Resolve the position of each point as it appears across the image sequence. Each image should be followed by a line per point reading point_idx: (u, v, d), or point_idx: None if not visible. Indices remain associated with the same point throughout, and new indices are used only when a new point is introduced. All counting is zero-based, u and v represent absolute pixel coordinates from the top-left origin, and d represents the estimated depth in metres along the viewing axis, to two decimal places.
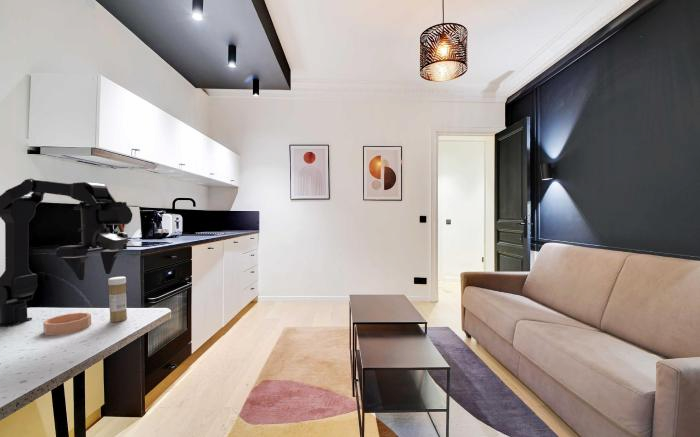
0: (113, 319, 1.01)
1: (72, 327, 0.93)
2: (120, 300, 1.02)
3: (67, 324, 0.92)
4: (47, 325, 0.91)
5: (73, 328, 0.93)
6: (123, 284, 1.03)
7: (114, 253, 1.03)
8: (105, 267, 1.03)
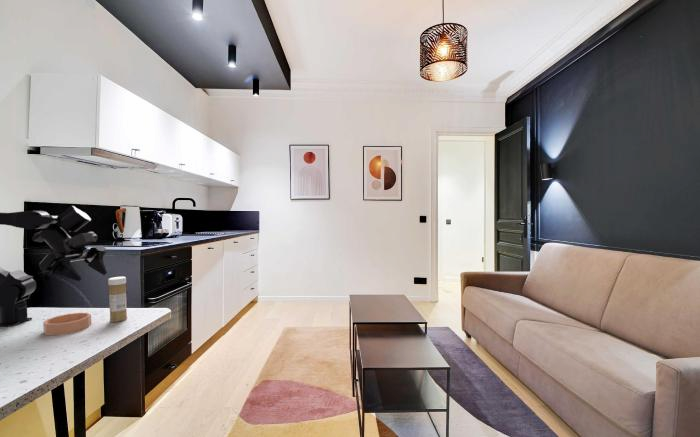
0: (113, 319, 1.01)
1: (72, 327, 0.93)
2: (120, 300, 1.02)
3: (67, 324, 0.92)
4: (47, 325, 0.91)
5: (73, 328, 0.93)
6: (123, 284, 1.03)
7: (97, 255, 1.09)
8: (99, 271, 1.09)
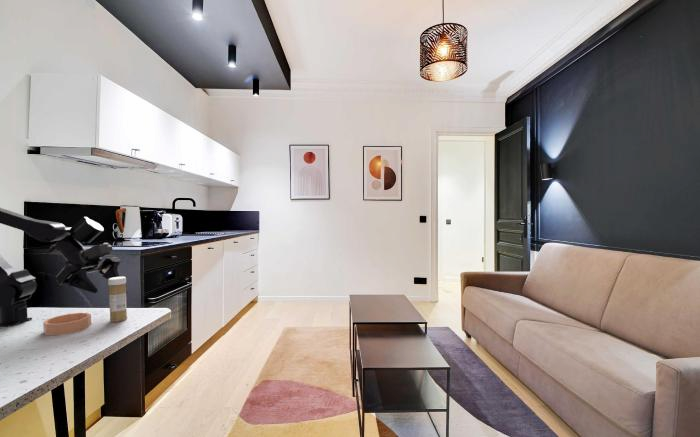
0: (113, 319, 1.01)
1: (72, 327, 0.93)
2: (120, 300, 1.02)
3: (67, 324, 0.92)
4: (47, 325, 0.91)
5: (73, 328, 0.93)
6: (123, 284, 1.03)
7: (112, 266, 1.09)
8: None
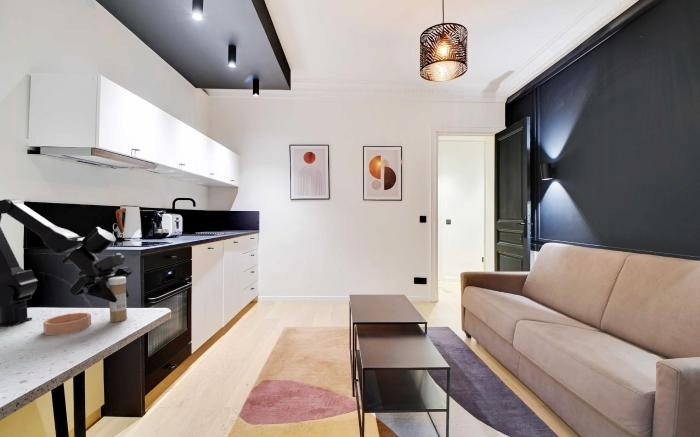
0: (113, 319, 1.01)
1: (72, 327, 0.93)
2: (120, 300, 1.02)
3: (67, 324, 0.92)
4: (47, 325, 0.91)
5: (73, 328, 0.93)
6: (123, 284, 1.03)
7: None
8: None
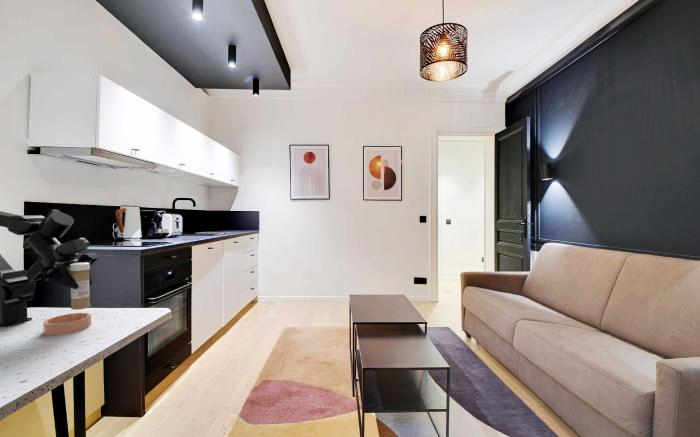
0: (74, 307, 0.96)
1: (72, 327, 0.93)
2: (83, 287, 0.97)
3: (67, 324, 0.92)
4: (47, 325, 0.91)
5: (73, 328, 0.93)
6: (86, 270, 0.98)
7: None
8: None
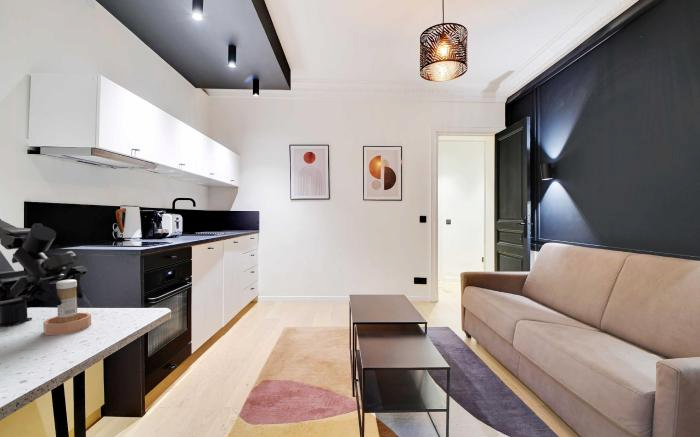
0: None
1: (72, 327, 0.93)
2: (69, 305, 0.95)
3: (67, 324, 0.92)
4: (47, 325, 0.91)
5: (73, 328, 0.93)
6: (73, 288, 0.96)
7: (73, 277, 1.00)
8: None
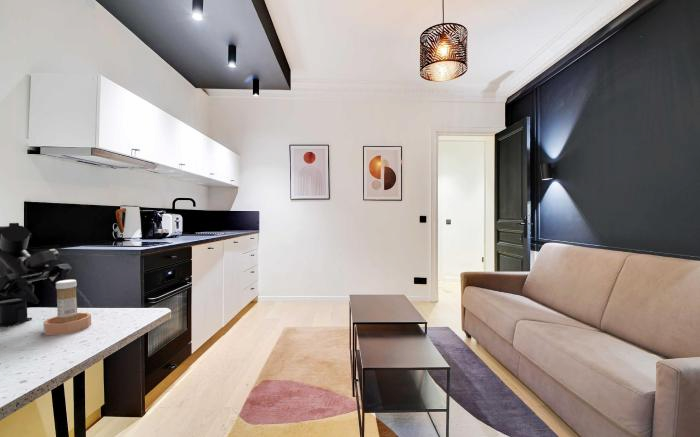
0: None
1: (72, 327, 0.93)
2: (69, 305, 0.95)
3: (67, 324, 0.92)
4: (47, 325, 0.91)
5: (73, 328, 0.93)
6: (72, 288, 0.96)
7: (60, 274, 1.02)
8: None
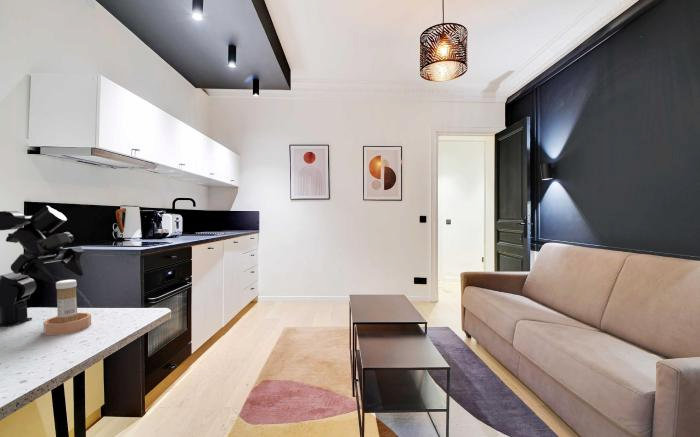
0: None
1: (72, 327, 0.93)
2: (69, 305, 0.95)
3: (67, 324, 0.92)
4: (47, 325, 0.91)
5: (73, 328, 0.93)
6: (72, 288, 0.96)
7: (74, 257, 1.07)
8: (76, 272, 1.06)
